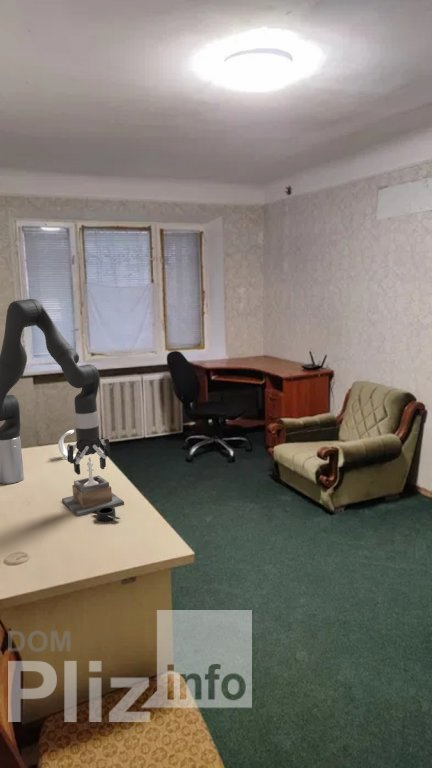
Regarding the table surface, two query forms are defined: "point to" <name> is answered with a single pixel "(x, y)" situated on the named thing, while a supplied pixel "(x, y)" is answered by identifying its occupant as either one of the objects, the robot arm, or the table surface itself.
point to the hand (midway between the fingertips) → (90, 471)
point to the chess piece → (90, 475)
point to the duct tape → (106, 514)
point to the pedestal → (91, 496)
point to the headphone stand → (61, 445)
